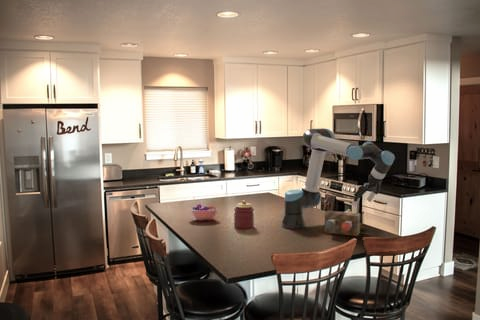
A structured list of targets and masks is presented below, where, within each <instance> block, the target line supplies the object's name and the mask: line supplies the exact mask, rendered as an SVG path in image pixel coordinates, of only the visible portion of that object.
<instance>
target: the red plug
mask: <svg viewBox="0 0 480 320" xmlns="http://www.w3.org/2000/svg"><path fill="white" fill-rule="evenodd" d="M352 226H353V220H347V221H345V222H344V223H343V224H342V226H341V228H342V230H343V231H346V232H347V231H349V230H350V229H351V227H352Z"/></svg>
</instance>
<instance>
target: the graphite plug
mask: <svg viewBox="0 0 480 320" xmlns="http://www.w3.org/2000/svg"><path fill="white" fill-rule="evenodd" d="M335 225H336V219H334V218H330V219H329V220H328V221H326V222H325V221H324V229H325V228H326V229H328V230H330V229H332V228H333V227H334V226H335Z"/></svg>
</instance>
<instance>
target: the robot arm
mask: <svg viewBox="0 0 480 320" xmlns="http://www.w3.org/2000/svg"><path fill="white" fill-rule="evenodd" d="M302 143H303V144H304V146H306V147H307V148H310V150H311V155H310V159H309V164H308V169H307V174H306V177H305V178H306V179H305V183H304V185H302V186H301V189H299V188H297V189H289V190H287V191H286V192H285V193H284V215H283V219H282V221H281V227H282V228H284V229H287V230H288V229H290V230H300V229H305V227H306V221H305V219H304V216H303V215H304V212H303V211H304V210H305V209H313V208H315V207H318V206H319V205H320V203H321V202H322V195H321V191H320V188H319V183H320V178H321V176H322V175H321V173H322V170H323V165H324V161H325V156H326V153H328V152H331V153H335V154H338V155H342V156H345V157H348V158H349V159H350V160H352V161H353V160H355V161H357V160H358V161H359V160H364V159H367V160H368V159H370V160H371V161H372V162H373V163H375V164H374V166H373V168H372V170H371V172H370V173H369V174H368V178H367V179H368V180H367V182H363V183H362V185H361V186H360V187H359V188H358V189H357V191H355V192H354V194H353V196H354V198H353V200H352V201H351V205H353V206H354V207H356V206H357V205H358V203H359V202H360V199H361V197H362V196H363V195H364V194H366V193H367V192H369V191H370V190H372V191H371V192H369V195H368V197H367V198H366V200H367V201H368V202H369V203H372V201H373V199H374V198H375V195H376V196H377V195H378V194H379V193H380V191H381V186H382V183H383V180H384V178H385V177H386V175H387V173H388V171H389V169H390V168H391V166H392V165H393V163H394V161H395V159H396V157H395V154H394V153H392V152H391V151H390V150H384V151H383V150H381V149H380V147H378V146H377V145H376V144H375V143H374V142H372V141H370V140H369V141H366V142H364V143H363V144H362V145H359V144H355V143H351V142H347V141H343V140H339V139H335V136H334V133H333V131H332V130H330V129H329V128H322V127H321V128H310V129H307V130H305V132H304V133H303V134H302Z"/></svg>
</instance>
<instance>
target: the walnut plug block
mask: <svg viewBox="0 0 480 320" xmlns="http://www.w3.org/2000/svg"><path fill="white" fill-rule="evenodd" d="M330 218H334V219H336V225H335V226H334V227H333V228H332V229H330V230H328V229H326V228H325V227H324V230H323V231H324V233H327V234H338V235H345V236H355V237H358V236H359V235H360V234H361V213H360V212H359V213H357V212H353V213H348V212H345V211H335V210H327V211H325V212H324V223H325V222H326V221H328V220H329V219H330ZM347 220H353V226H352V227H351V229H350V230H349V231H347V232H346V231H343V230H342V228H341V226H342V224H343V223H344V222H345V221H347Z"/></svg>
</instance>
